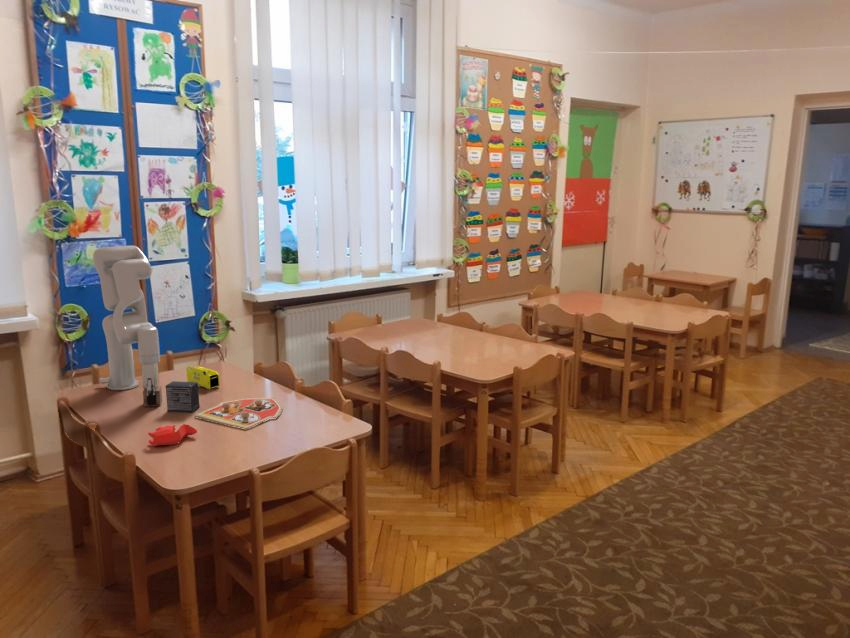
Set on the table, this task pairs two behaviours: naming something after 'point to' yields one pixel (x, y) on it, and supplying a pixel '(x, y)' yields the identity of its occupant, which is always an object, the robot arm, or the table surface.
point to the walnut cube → (158, 396)
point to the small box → (182, 396)
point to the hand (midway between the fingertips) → (153, 401)
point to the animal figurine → (170, 435)
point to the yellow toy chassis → (203, 377)
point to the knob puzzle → (243, 412)
